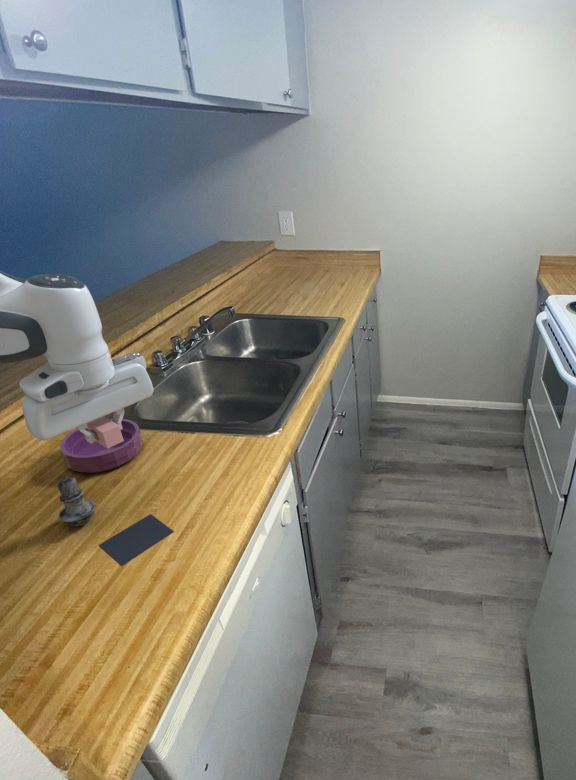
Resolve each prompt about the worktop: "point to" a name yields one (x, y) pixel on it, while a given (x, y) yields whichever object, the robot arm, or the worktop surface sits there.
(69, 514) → the grey stone finial
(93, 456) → the bowl
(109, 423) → the eraser
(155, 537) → the mat
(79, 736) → the worktop surface
